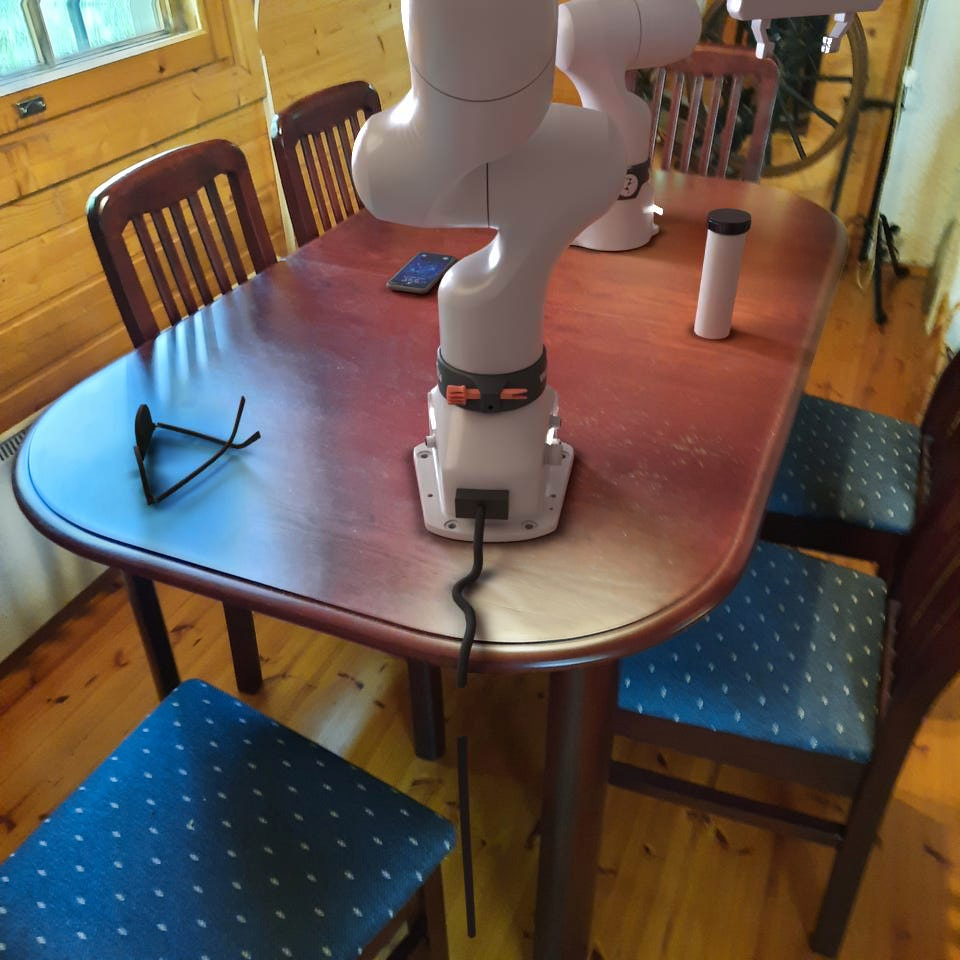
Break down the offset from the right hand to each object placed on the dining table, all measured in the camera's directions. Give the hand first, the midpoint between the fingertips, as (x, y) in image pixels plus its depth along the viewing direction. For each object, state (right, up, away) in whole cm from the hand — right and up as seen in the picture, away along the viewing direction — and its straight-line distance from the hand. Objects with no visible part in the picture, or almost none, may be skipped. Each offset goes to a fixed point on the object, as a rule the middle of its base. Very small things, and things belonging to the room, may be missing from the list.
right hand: (796, 55), depth 110 cm
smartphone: (-50, -20, +34) cm, 64 cm away
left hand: (-39, +5, -13) cm, 42 cm away
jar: (-7, -33, +15) cm, 37 cm away
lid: (-7, -19, +5) cm, 21 cm away
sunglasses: (-74, -52, -8) cm, 91 cm away
